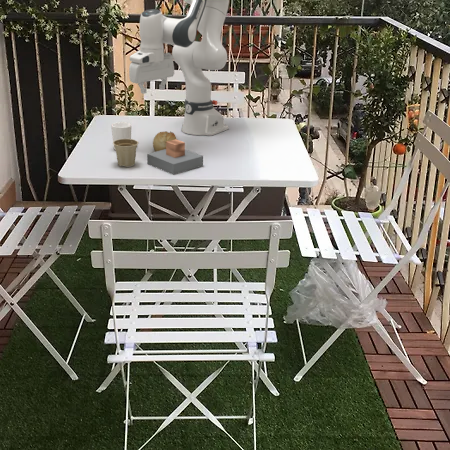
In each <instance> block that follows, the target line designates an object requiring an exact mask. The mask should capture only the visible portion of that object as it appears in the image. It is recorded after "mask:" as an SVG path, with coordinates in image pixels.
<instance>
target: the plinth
mask: <svg viewBox="0 0 450 450" xmlns="http://www.w3.org/2000/svg"><path fill="white" fill-rule="evenodd" d="M146 158H147V159H146V160H147V165H149V166H151V165H152V167H154V168H156V167H157V169H160V170H161V169H162V171H163V170H164V171H163V172H166V173H168V172H169V174H170V175H176V174H180V173H183V172H188V171H190V170H191V171H192V170H195V169H197V168H201V167H204V155H201V154H199V153H196V152H194V151H191V150H189V149H186V148H185V155H184V156H180V157H176V158H174V157H171V156H169V155H166V149H164V150H160V151H156V152H155V151H154V152H148V153H147V157H146Z"/></svg>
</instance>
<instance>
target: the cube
mask: <svg viewBox="0 0 450 450" xmlns="http://www.w3.org/2000/svg"><path fill="white" fill-rule="evenodd" d="M185 149H186V142H185V141H182V140H179V139H177V138H176V140H171V141H167V142H166V155H169V156H171V157H174V158H176V157H180V156H184V155H185Z"/></svg>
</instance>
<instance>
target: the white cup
mask: <svg viewBox="0 0 450 450" xmlns="http://www.w3.org/2000/svg"><path fill="white" fill-rule="evenodd" d="M111 137H112V143H113V142H114V141H115V140H118V139H132V124H131V123H129V122H125V121H123V122H122V121H121V122H120V121H118V122H113V123H112V124H111ZM113 149H114V151H116V149H115V147H114V146H113Z"/></svg>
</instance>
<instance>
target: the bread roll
mask: <svg viewBox="0 0 450 450" xmlns="http://www.w3.org/2000/svg"><path fill="white" fill-rule="evenodd" d="M176 139H177V136H176V134H175V133H174V132H172V131H170V132H169V131H159V132H158V133H157V134H155V136H154V137H153V140H152V148H153V150H154V152H156V151H160V150H164V149H166V142H167V141H171V140H176Z"/></svg>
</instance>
